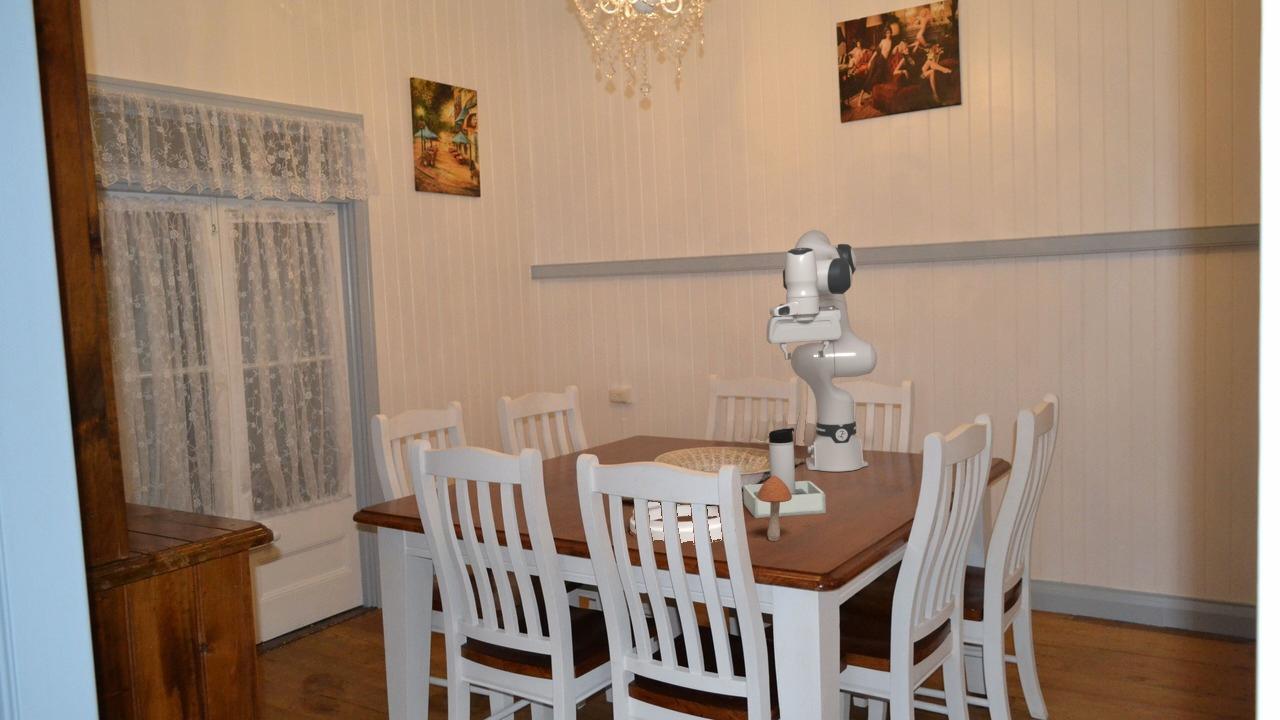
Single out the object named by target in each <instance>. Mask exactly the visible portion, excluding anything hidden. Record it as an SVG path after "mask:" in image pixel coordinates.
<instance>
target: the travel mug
mask: <svg viewBox="0 0 1280 720" xmlns="http://www.w3.org/2000/svg"><path fill="white" fill-rule="evenodd" d="M793 432H795V428H794V427H790V428H782V429H776V430H771V431H769V433H768V444H769V445H768V451H769V453H768V455H769V470H770V471H769V474H770V475H769V476H770V477H772V476H774V475H775V476H777V477H778V478H780V479H781V480H782V481H783V482H784V483H785V484H786V486H787V487H788V489H789V491H790V493H791V495H796V489H795V482H796V472H795V471H796V470H795V449H794V448H795V447H794V434H793Z"/></svg>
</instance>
